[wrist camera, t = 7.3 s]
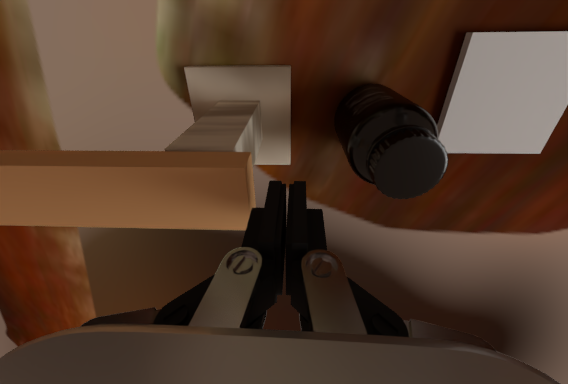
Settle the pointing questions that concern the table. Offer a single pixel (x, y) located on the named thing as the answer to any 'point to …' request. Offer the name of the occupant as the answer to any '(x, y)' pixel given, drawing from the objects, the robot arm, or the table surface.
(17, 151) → the strap bar
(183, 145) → the stand
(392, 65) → the table surface
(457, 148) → the grey mat
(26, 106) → the table surface
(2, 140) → the table surface
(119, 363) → the robot arm
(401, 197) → the supplement bottle
